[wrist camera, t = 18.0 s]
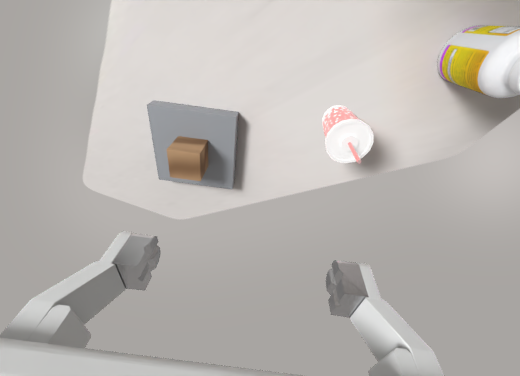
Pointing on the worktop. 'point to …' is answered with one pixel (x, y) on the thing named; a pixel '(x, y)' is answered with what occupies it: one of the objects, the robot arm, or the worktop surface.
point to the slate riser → (201, 127)
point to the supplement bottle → (483, 60)
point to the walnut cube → (188, 158)
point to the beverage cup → (346, 135)
